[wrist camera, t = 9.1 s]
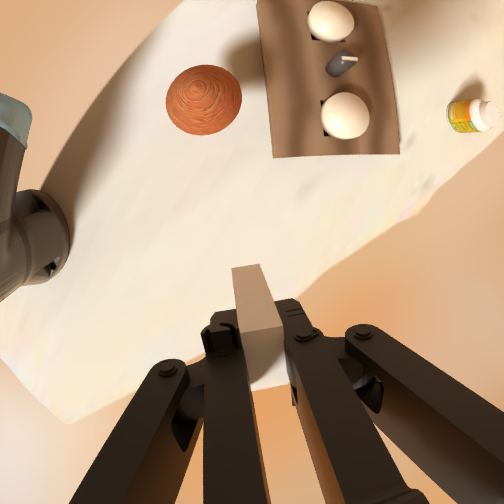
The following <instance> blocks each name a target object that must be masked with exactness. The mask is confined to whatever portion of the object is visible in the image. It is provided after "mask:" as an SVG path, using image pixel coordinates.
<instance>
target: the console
mask: <svg viewBox="0 0 504 504" xmlns="http://www.w3.org/2000/svg"><path fill="white" fill-rule="evenodd" d="M321 1H332V2H336V3H338V4H340V5H342V6H344V7H345V8H346V9H347V10H348V11H349V12H350V13H351V15H352V17H353V19H354V28H353V30H352V32H351V33H350V34H349V35H348V36H347V37H346V38H345V39H343V40H342V41H340V42H337V43H327V42H324V41H320V40H312V38H311V32H310V31H309V29H308V27H307V24H306V19H307V16H308V14H309V13H310V11H311V9H312V8H313V6H314V5H315V4H317V3H318V2H321ZM256 8H257V16H258V24H259V32H260V40H261V48H262V57H263V65H264V74H265V83H266V92H267V102H268V111H269V121H270V131H271V142H272V152H273V158H285V157H301V156H322V155H357V154H400V147H399V134H398V124H397V114H396V106H395V98H394V91H393V84H392V77H391V71H390V65H389V60H388V54H387V49H386V44H385V40H384V35H383V31H382V26H381V22H380V18H379V14H378V10H377V7H374V6H368V5H363V4H356V3H349V2H342V1H334V0H257V5H256ZM342 50H347V51H350V52H351V53H353V54H354V56H355V57H357V58H358V61H356V64H355V65H354V66H353V67H352V68H350V69H349V70H347V71H346V72H345V73H343V74H342V75H341V76H339V77H331V76H329V75H328V74H327V72H326V70H325V67H326V64H327V63H328V62H329V61H330V60H331V59H333V58H334V57H335V56H336V55H337V54H338V53H339V52H340V51H342ZM341 92H348V93H352V94H354V95H356V96H358V97H359V98H360V99H361V100H362V101H363V102H364V103H365V105H366V106H367V109H368V112H369V125H368V127H367V129H366V131H365V132H364V133H363V134H362V135H360V136H358V137H356V138H351V139H344V140H342V139H336V138H334V137H332V136H324V132H323V127H322V125H321V123H320V118H319V112H320V108H321V104H323V103H324V102H325V101H326V100H327V99H328V98H330V97H332V96H333V95H335V94H337V93H341Z"/></svg>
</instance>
